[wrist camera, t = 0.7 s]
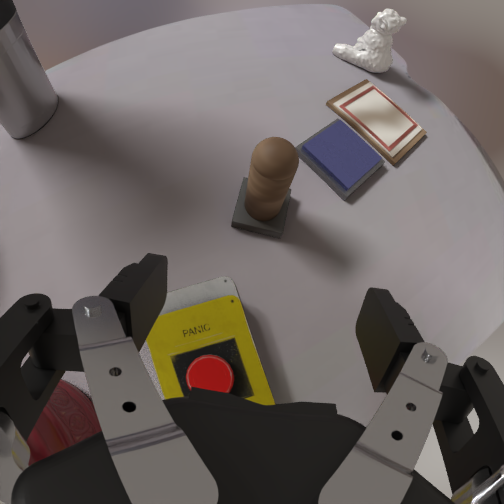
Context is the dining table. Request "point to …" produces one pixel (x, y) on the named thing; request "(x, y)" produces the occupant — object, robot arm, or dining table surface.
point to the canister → (62, 422)
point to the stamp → (267, 188)
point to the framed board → (378, 120)
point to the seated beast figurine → (373, 43)
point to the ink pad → (340, 157)
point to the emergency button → (207, 344)
